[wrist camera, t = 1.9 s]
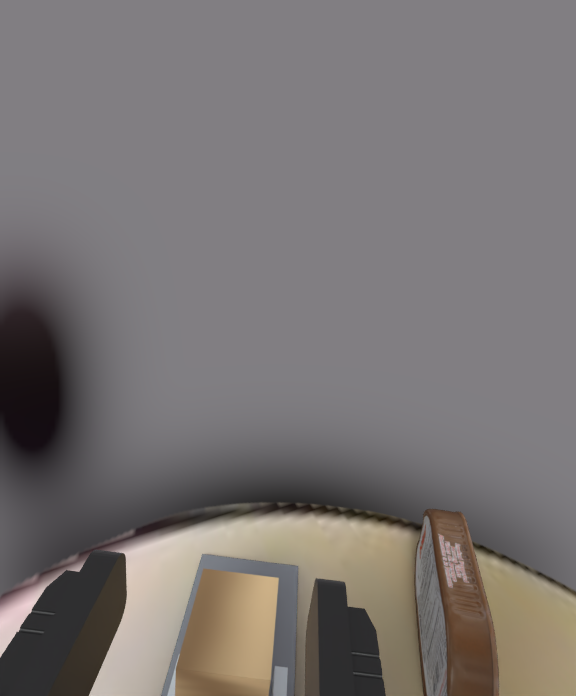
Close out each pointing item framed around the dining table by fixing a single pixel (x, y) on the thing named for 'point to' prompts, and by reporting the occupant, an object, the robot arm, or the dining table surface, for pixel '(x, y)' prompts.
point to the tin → (453, 611)
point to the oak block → (229, 636)
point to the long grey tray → (284, 622)
